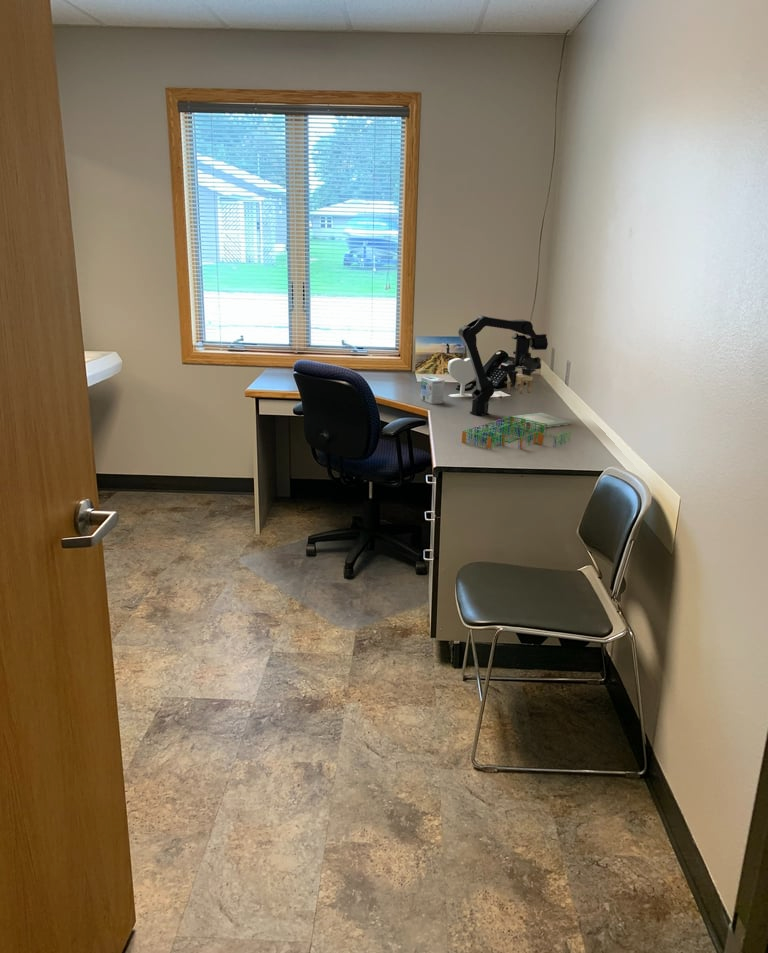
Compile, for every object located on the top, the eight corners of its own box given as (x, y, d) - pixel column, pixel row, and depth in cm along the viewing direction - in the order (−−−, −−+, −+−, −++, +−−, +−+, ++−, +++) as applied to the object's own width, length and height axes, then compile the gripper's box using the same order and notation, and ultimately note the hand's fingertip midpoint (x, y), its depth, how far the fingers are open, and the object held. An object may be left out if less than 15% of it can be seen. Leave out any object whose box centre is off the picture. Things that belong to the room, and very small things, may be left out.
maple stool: (505, 389, 330) (507, 373, 328) (516, 388, 333) (517, 373, 331) (520, 394, 322) (522, 377, 319) (531, 393, 325) (533, 377, 322)
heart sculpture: (475, 394, 368) (477, 357, 362) (478, 396, 363) (481, 359, 358) (445, 394, 364) (447, 357, 359) (448, 397, 360) (450, 359, 354)
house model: (507, 427, 308) (508, 415, 307) (573, 440, 291) (574, 428, 289) (459, 442, 283) (460, 430, 281) (528, 459, 265) (530, 446, 263)
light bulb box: (419, 399, 352) (420, 376, 349) (432, 398, 355) (433, 375, 352) (431, 404, 343) (432, 380, 340) (443, 403, 346) (445, 380, 343)
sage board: (537, 428, 305) (537, 426, 305) (509, 419, 320) (509, 416, 319) (570, 424, 314) (570, 421, 313) (541, 415, 328) (541, 412, 328)
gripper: (517, 353, 310) (514, 390, 315) (551, 351, 320) (547, 387, 325) (500, 349, 319) (497, 385, 324) (533, 347, 329) (530, 382, 334)
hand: (519, 385), depth 326 cm, fingers closed on maple stool, 6 cm apart
